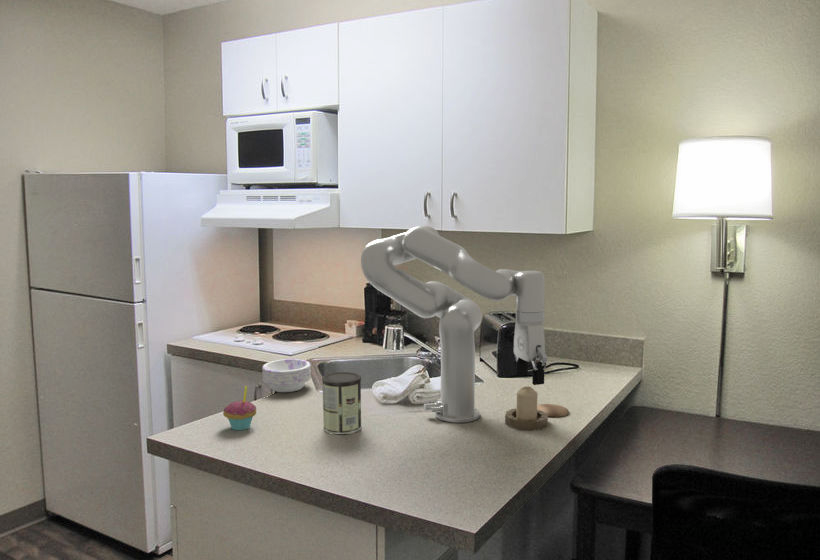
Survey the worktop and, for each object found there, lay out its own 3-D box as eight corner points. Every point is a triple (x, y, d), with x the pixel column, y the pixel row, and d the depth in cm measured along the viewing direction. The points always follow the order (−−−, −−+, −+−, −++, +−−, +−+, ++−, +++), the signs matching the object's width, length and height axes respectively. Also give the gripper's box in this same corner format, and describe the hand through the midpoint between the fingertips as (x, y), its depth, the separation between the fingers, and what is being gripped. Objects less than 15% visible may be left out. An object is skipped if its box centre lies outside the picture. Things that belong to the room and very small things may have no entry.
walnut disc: (542, 418, 188) (542, 416, 188) (526, 407, 197) (526, 405, 197) (574, 415, 191) (574, 413, 191) (557, 404, 200) (557, 402, 200)
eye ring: (516, 432, 177) (516, 423, 177) (498, 418, 188) (499, 410, 188) (554, 428, 181) (555, 419, 180) (535, 414, 191) (535, 406, 191)
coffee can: (338, 419, 187) (337, 369, 185) (369, 426, 182) (368, 375, 180) (314, 430, 178) (313, 378, 176) (346, 438, 173) (345, 384, 171)
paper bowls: (253, 392, 211) (252, 368, 210) (278, 380, 226) (277, 356, 224) (297, 397, 206) (296, 372, 205) (319, 384, 221) (319, 360, 220)
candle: (536, 427, 181) (537, 391, 180) (515, 426, 182) (516, 390, 181) (536, 420, 186) (537, 385, 185) (516, 419, 188) (517, 384, 186)
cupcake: (254, 420, 186) (253, 378, 184) (259, 430, 178) (258, 386, 177) (222, 424, 183) (220, 381, 181) (225, 434, 175) (224, 390, 173)
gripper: (503, 312, 188) (503, 373, 190) (531, 323, 171) (531, 389, 173) (528, 311, 190) (528, 370, 192) (558, 321, 173) (558, 386, 175)
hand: (529, 379), depth 182 cm, fingers open, 9 cm apart
